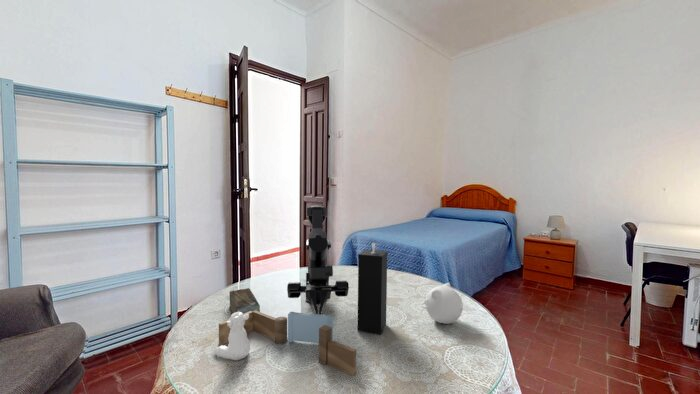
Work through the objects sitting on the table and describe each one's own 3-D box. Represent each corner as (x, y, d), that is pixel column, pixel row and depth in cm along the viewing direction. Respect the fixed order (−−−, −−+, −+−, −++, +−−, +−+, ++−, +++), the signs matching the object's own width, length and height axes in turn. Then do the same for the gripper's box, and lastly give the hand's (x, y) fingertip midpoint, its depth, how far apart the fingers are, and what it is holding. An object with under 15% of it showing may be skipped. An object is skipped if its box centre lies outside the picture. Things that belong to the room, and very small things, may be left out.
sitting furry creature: (246, 342, 89) (246, 302, 88) (261, 354, 83) (261, 310, 82) (213, 354, 82) (213, 311, 82) (226, 368, 76) (226, 321, 76)
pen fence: (257, 326, 99) (257, 299, 99) (360, 369, 76) (360, 334, 76) (218, 343, 88) (218, 313, 87) (326, 400, 65) (326, 359, 65)
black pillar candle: (386, 324, 101) (387, 241, 100) (381, 335, 94) (382, 245, 93) (363, 320, 104) (365, 239, 103) (357, 331, 96) (358, 243, 95)
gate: (287, 341, 89) (288, 314, 88) (290, 338, 90) (290, 311, 90) (331, 346, 86) (332, 317, 86) (333, 343, 88) (333, 315, 88)
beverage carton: (236, 326, 99) (236, 307, 99) (228, 306, 116) (228, 289, 115) (260, 321, 103) (260, 302, 103) (249, 302, 119) (249, 286, 119)
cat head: (453, 336, 93) (454, 297, 93) (416, 323, 102) (416, 287, 102) (471, 321, 105) (472, 286, 104) (436, 310, 113) (437, 278, 113)
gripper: (287, 256, 92) (284, 306, 82) (348, 255, 95) (352, 303, 84) (289, 274, 100) (286, 321, 90) (345, 273, 103) (348, 319, 92)
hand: (318, 316), depth 89 cm, fingers closed
